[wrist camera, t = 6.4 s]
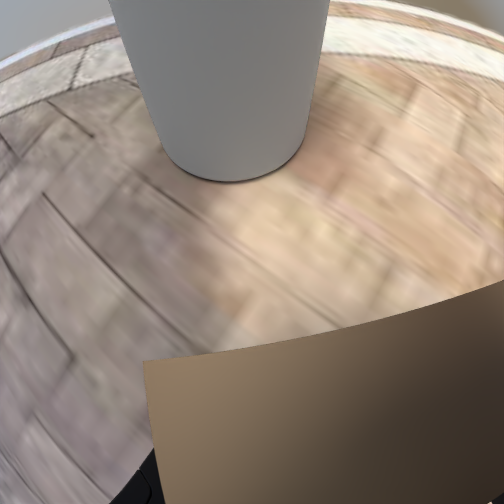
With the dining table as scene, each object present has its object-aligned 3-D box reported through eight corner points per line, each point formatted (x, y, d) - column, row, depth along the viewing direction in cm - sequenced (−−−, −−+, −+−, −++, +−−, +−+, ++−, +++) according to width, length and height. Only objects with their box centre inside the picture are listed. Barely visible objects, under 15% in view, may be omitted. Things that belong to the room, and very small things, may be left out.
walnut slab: (244, 456, 13) (189, 585, 2) (233, 390, 15) (143, 361, 4) (373, 427, 13) (562, 442, 3) (360, 363, 15) (527, 270, 4)
